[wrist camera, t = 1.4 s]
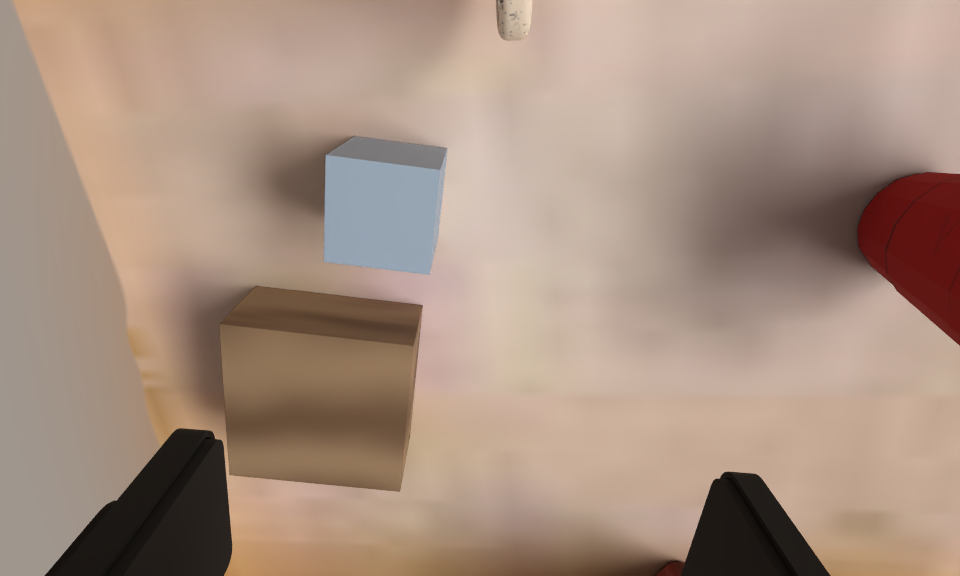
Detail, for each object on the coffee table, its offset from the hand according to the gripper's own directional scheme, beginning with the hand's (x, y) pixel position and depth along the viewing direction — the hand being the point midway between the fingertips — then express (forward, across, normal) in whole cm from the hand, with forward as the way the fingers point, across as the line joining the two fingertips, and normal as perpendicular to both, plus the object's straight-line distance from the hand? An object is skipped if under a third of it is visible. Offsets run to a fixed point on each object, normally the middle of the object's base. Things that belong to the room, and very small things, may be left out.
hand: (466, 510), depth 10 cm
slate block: (+22, +4, -1) cm, 22 cm away
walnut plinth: (+22, +8, +11) cm, 26 cm away
